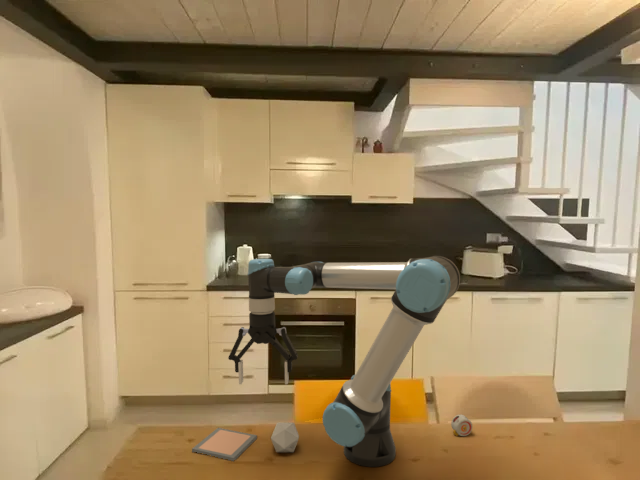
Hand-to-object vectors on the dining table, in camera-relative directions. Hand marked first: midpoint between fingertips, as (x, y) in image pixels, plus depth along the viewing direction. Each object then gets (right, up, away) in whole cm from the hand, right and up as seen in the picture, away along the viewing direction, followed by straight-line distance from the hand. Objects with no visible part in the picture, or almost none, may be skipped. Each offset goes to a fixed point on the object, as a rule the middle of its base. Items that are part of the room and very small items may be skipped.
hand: (263, 382), depth 136 cm
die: (+6, -20, +1) cm, 21 cm away
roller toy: (+62, -20, +12) cm, 66 cm away
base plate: (-12, -20, +3) cm, 24 cm away
